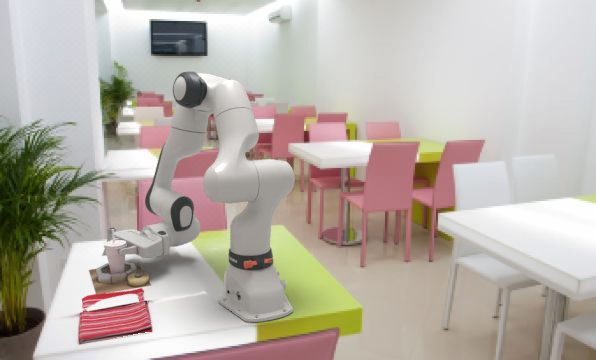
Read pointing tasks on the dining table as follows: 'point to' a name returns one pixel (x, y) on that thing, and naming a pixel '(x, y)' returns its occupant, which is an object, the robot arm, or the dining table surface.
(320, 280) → the dining table surface
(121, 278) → the socket ring
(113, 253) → the smoothie
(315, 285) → the dining table surface
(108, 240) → the flask
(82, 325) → the dish towel
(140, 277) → the carrier board
